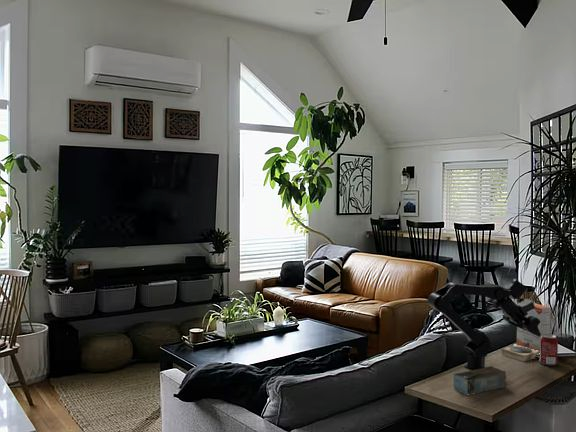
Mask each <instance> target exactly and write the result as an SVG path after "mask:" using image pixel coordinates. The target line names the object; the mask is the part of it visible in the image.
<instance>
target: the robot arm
mask: <svg viewBox="0 0 576 432" xmlns="http://www.w3.org/2000/svg"><path fill="white" fill-rule="evenodd" d="M527 291H528V287H527V286H526V285H524V284H523V283H522V282H520V281H519V280H518V279H516V278H513V279H512V280H511V282H510V283H509V284H508V285H507V287H504V286H499V285H497V284H494V283H485V284H480V285H477V284H468V283H458V282H457V283H456V282H453V281H452V282H448V283H447V284H445V285H444V286H442V287H441V288H438V289H437V290H436V291H434V292H432V293H431V294H429V295H428V297H427V300H426V301H427V302H426V303H427V304H428V305H429V306H430V307H431V308H433V309H435V310H436V311H438V312H439V313H441V314H442V315H443V316H444V317H446V318H447V319H448V320H449V321H450V322H451V323H452V324H453V325H454V326H455V327H456V329H458V330H459V331H461V333H463V335H464V336H465V337H466V339H467V341H468V342H467V343H466V344H465V345H464V350H465V352H467V353H466V354H467V356H466V357H467V358H466V359H467V360H466V365H464V368H465V369H467V370H469V371H471V370H476V369H480V368H485V367H486V364H485V363H486V357H487V356H488V353H489V352H490V349H491V348H492V342H491V340H490V339H491V338H490V337H489V336H487V335H486V334H485V332H484V331H482V330H480V329H478V328H475V329H474V328H473V327H472V326H471V325H469V324H468V322H467V321H466V320H465V319H463V318H462V317H461V316H460V314H458V313H457V312H456V311H455V310H454V309H453V307H452V304H451V302H452V301H453V300H454V298H455V296H456V295H457V294H458V295H459V294H461V295H469V296H480V297H481V296H482V297H485V298H487V299H488V298H489V299H491V300H493V301H492V304H491V306H492V308H494V309H496V310H498V309H500V310H502V312H503V315H502V319H503V320H504V321H505V322H506V323H508V324H510V325H512V326H514V327H516V328H517V327H519V328H521V329H523V330H525V331H528V332H530V333H532V334H534V335H536V336H539V337H540V336H541V333H540V331H539V329H538V325H539V323H540V320H539V319H538V318H536V317H534V316H529V317H528V318H527V317H525V316H527V315H528V313H527V312H528V311H530V310H532V309H535V306H534V303H535V302H534V301H533V300H531V299H529V298H522V297H523V295H524V294H525V293H526V292H527ZM515 300H516V302H515ZM516 303H517V304H516ZM523 322H524V323H523Z"/></svg>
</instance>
